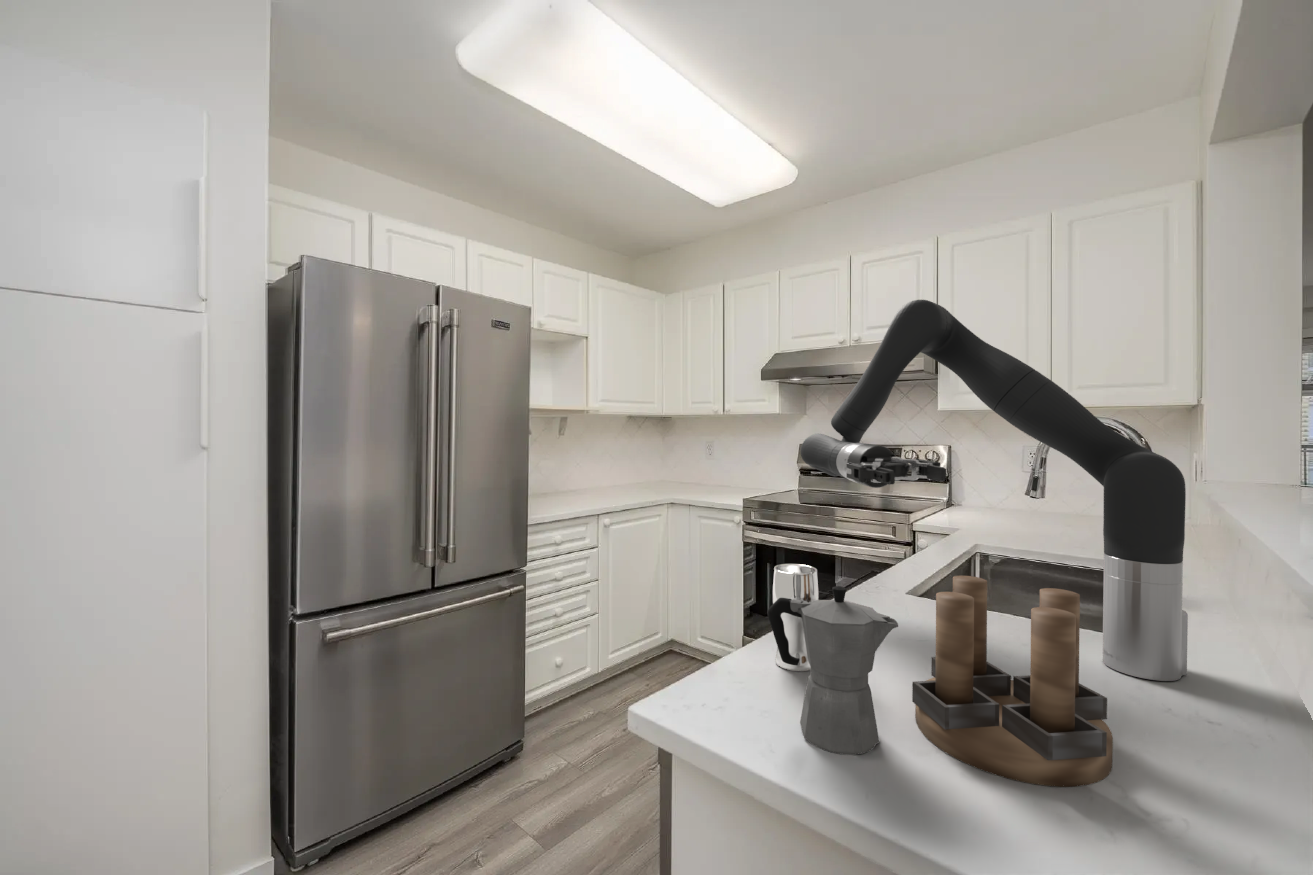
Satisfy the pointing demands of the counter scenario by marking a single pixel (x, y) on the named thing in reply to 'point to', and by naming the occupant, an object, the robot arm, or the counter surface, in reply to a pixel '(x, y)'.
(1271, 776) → the counter surface
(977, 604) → the loose leg
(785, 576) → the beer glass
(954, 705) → the stool seat
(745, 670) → the counter surface
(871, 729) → the coffeepot
